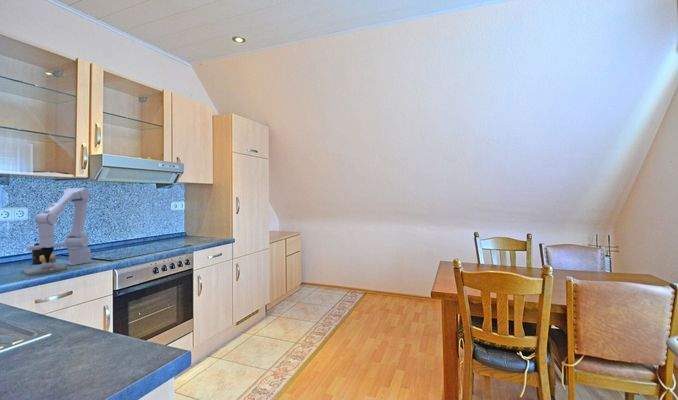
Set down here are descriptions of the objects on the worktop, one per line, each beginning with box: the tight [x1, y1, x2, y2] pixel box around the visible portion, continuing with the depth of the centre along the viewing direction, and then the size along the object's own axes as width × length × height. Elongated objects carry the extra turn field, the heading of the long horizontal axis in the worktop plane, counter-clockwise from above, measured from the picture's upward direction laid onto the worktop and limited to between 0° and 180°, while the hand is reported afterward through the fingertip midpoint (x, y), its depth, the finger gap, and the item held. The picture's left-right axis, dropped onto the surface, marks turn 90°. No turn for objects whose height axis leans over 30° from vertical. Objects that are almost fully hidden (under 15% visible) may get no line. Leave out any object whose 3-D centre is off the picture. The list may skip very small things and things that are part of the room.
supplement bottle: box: [31, 242, 47, 265], centre depth 181 cm, size 7×7×12 cm
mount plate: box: [21, 261, 68, 277], centre depth 163 cm, size 15×14×5 cm
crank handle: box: [40, 253, 56, 264], centre depth 162 cm, size 14×6×3 cm, turn 55°
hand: (47, 262), depth 159 cm, fingers closed
